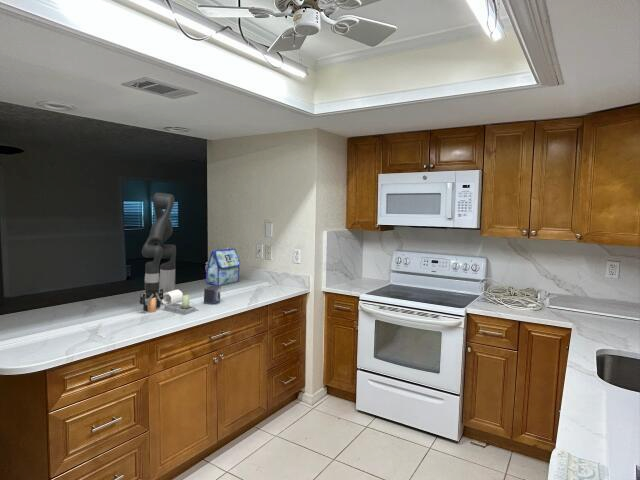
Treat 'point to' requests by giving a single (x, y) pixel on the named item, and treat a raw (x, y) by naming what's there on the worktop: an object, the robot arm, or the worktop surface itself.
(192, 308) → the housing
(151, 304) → the jaw peg orange
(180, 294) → the mug
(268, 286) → the worktop surface
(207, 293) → the small box
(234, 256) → the lunch bag
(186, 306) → the jaw peg olive
